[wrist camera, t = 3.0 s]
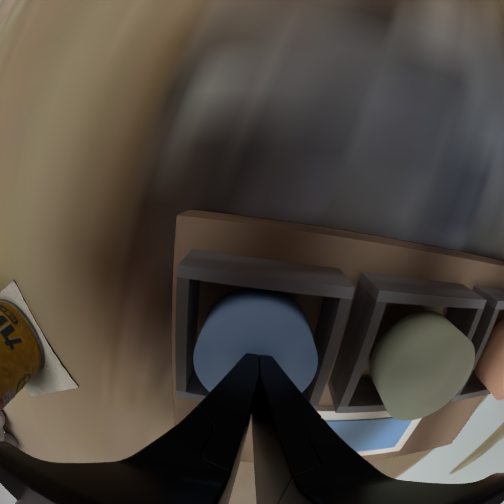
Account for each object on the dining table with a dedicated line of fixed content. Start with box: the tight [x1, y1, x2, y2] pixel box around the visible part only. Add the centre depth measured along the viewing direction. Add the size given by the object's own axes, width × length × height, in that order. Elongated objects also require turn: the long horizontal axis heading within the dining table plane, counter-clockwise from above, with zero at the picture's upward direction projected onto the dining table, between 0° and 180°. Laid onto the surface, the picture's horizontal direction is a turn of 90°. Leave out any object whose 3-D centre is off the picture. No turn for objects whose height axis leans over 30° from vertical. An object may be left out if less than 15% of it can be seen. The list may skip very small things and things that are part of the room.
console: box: [172, 209, 504, 462], centre depth 12 cm, size 20×14×4 cm
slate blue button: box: [193, 287, 318, 393], centre depth 10 cm, size 4×4×2 cm
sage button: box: [369, 311, 475, 421], centre depth 9 cm, size 4×4×2 cm
